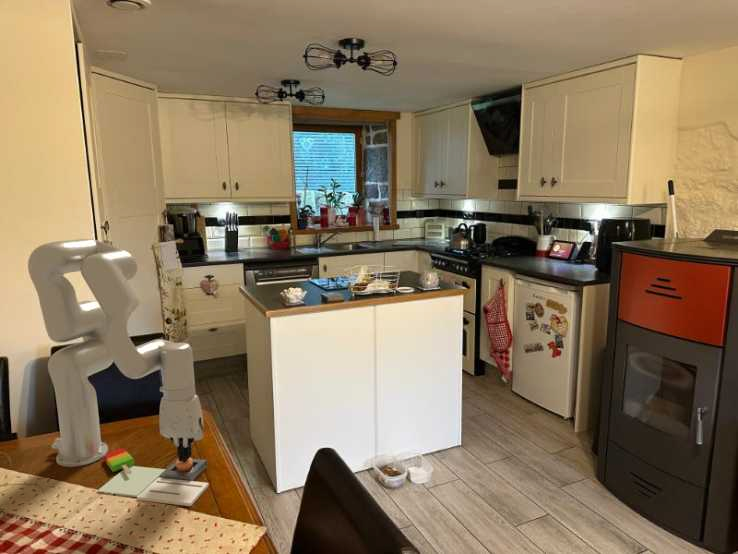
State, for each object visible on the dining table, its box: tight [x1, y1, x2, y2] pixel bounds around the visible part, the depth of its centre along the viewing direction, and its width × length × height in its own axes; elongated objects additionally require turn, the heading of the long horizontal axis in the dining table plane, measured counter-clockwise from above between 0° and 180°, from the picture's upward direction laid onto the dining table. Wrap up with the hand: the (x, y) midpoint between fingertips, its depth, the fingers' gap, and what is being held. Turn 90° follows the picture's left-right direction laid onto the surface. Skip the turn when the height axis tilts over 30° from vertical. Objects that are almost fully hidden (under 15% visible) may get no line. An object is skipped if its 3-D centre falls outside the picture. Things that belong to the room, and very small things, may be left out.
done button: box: [175, 457, 193, 472], centre depth 133 cm, size 4×4×2 cm
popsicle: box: [103, 448, 135, 474], centre depth 136 cm, size 6×2×15 cm
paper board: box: [136, 477, 210, 507], centre depth 125 cm, size 14×9×1 cm, turn 79°
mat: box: [96, 465, 167, 498], centre depth 130 cm, size 11×12×1 cm
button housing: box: [161, 457, 208, 481], centre depth 133 cm, size 8×8×2 cm
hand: (185, 459), depth 133 cm, fingers closed
